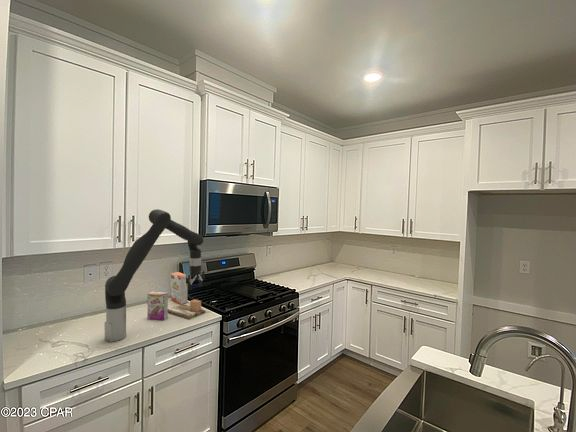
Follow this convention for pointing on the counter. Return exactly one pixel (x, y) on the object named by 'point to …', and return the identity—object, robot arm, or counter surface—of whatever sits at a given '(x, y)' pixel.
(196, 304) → the tan block
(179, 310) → the board
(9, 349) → the counter surface
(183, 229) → the robot arm
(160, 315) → the candy bar box
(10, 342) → the counter surface
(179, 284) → the cracker box
